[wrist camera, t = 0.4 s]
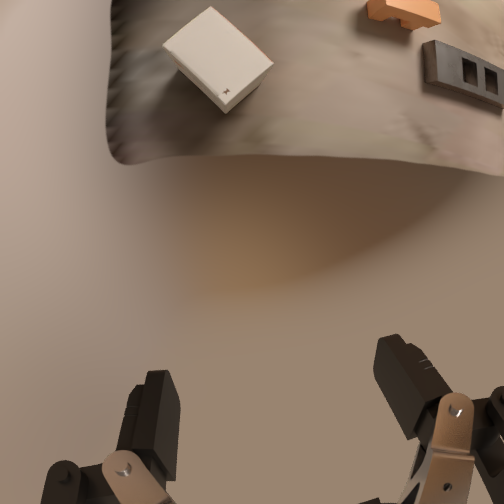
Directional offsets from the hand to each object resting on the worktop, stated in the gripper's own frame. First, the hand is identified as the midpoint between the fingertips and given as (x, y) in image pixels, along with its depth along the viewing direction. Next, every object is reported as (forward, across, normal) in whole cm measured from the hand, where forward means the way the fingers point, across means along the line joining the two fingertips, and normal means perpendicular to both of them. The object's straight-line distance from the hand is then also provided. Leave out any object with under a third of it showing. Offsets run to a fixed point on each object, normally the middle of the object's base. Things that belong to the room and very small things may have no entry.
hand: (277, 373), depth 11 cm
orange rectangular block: (+28, -22, -24) cm, 43 cm away
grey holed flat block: (+28, -36, -16) cm, 48 cm away
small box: (+28, 0, -15) cm, 32 cm away
